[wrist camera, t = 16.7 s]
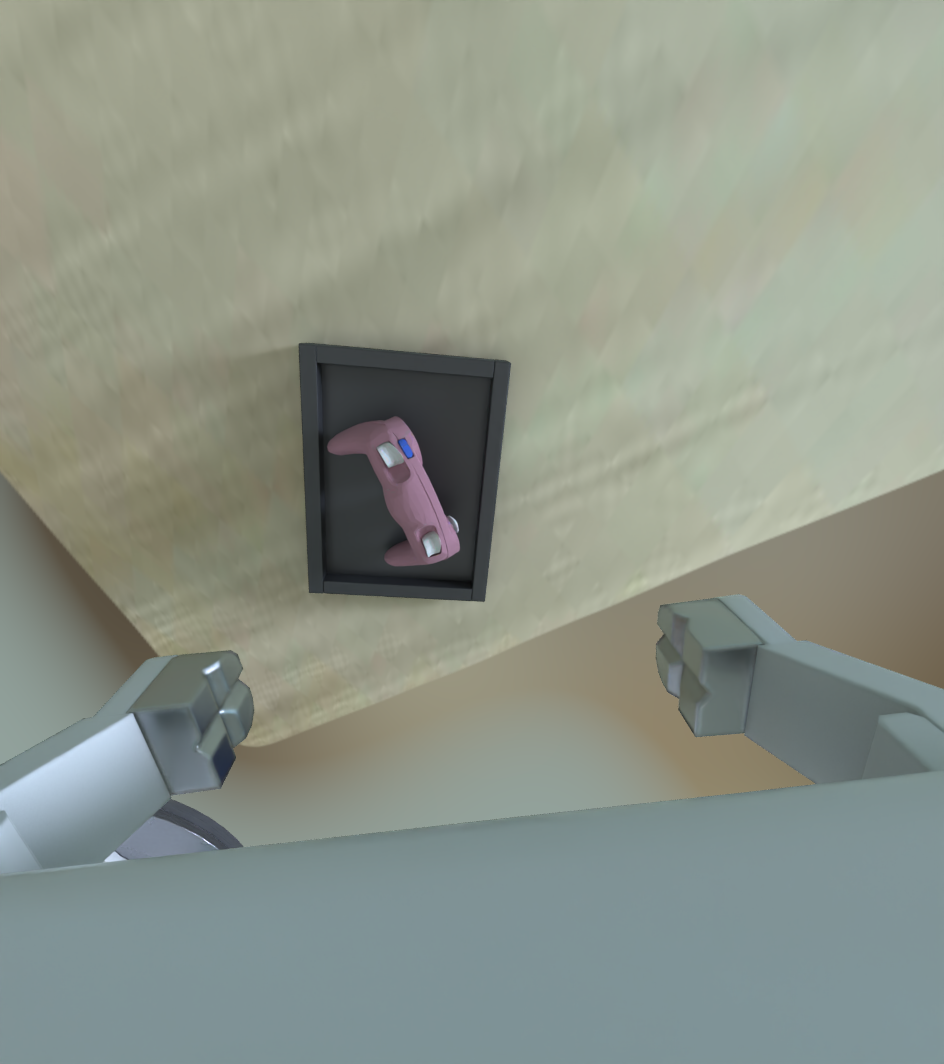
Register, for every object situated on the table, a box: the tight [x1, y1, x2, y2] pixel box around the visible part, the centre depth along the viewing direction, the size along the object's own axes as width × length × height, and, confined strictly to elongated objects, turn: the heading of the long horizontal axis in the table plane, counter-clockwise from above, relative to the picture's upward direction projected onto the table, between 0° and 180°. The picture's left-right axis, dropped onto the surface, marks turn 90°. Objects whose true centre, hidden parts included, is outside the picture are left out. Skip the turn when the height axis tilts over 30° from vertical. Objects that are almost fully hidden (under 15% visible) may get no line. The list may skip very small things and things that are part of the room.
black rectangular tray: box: [299, 343, 511, 602], centre depth 33 cm, size 12×16×2 cm
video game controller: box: [327, 416, 460, 566], centre depth 31 cm, size 10×5×7 cm, turn 21°
